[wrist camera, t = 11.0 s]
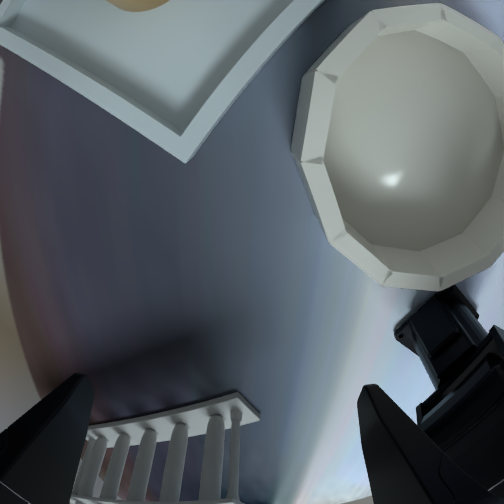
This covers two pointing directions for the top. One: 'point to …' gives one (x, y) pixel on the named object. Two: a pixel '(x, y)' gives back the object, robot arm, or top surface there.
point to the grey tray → (155, 56)
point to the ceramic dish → (407, 145)
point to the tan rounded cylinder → (137, 4)
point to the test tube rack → (177, 431)
